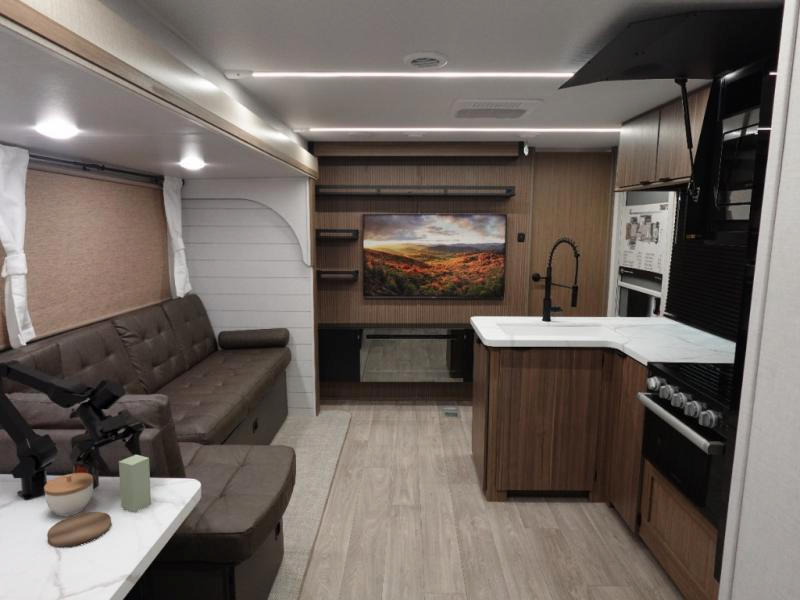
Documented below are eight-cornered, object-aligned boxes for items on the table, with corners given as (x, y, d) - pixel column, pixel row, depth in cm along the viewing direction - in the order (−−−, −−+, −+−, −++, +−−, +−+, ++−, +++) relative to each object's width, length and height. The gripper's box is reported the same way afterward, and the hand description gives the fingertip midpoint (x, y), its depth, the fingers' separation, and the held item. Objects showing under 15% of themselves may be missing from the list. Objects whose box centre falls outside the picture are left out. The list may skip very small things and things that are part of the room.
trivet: (38, 534, 120) (38, 529, 120) (96, 511, 131) (96, 506, 130) (61, 554, 113) (61, 548, 112) (121, 528, 123) (120, 522, 123)
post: (121, 508, 132) (118, 461, 131) (138, 500, 137) (135, 454, 135) (134, 513, 130) (132, 465, 129) (151, 504, 135) (148, 457, 133)
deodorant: (103, 484, 145) (100, 435, 144) (83, 494, 140) (79, 442, 138) (90, 480, 148) (87, 431, 146) (69, 489, 142) (66, 438, 141)
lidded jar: (71, 523, 125) (68, 487, 124) (35, 518, 127) (32, 483, 126) (104, 502, 136) (102, 468, 135) (70, 497, 138) (68, 465, 137)
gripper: (73, 413, 126) (105, 463, 123) (139, 393, 143) (168, 437, 139) (55, 439, 130) (86, 488, 127) (121, 416, 147) (150, 459, 144)
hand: (125, 466), depth 134 cm, fingers open, 9 cm apart
